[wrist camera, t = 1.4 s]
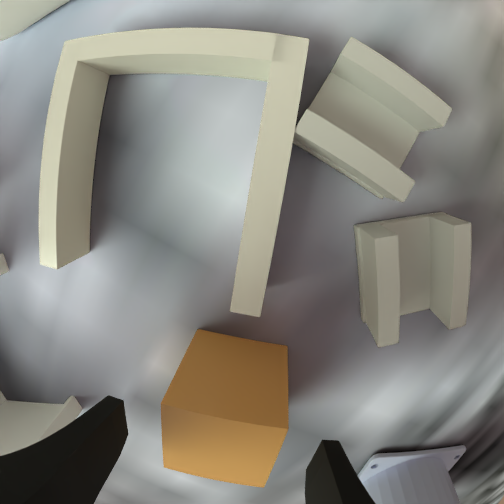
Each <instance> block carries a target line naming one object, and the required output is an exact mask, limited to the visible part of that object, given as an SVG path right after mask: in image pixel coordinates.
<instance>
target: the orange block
mask: <svg viewBox="0 0 504 504" xmlns="http://www.w3.org/2000/svg"><path fill="white" fill-rule="evenodd" d="M161 424H162V446H163V462H164V467H165V468H168V469H172V470H176V471H179V472H183V473H187V474H191V475H196V476H200V477H204V478H209V479H214V480H219V481H224V482H230V483H236V484H242V485H249V486H256V487H264V486H265V484H266V481H267V479H268V477H269V475H270V472H271V470H272V468H273V465H274V463H275V461H276V458H277V456H278V454H279V451H280V449H281V446H282V444H283V441H284V439H285V436H286V434H287V431H288V347H287V346H285V345H279V344H273V343H267V342H261V341H255V340H250V339H245V338H239V337H234V336H229V335H224V334H219V333H215V332H210V331H205V330H201V329H197V331H196V333H195V335H194V337H193V339H192V341H191V343H190V345H189V347H188V349H187V351H186V353H185V355H184V357H183V359H182V361H181V363H180V365H179V367H178V370H177V372H176V374H175V376H174V378H173V380H172V382H171V384H170V386H169V388H168V390H167V392H166V394H165V396H164V398H163V400H162V402H161Z"/></svg>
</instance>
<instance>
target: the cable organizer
mask: <svg viewBox="0 0 504 504" xmlns="http://www.w3.org/2000/svg"><path fill="white" fill-rule="evenodd" d="M69 1H70V0H0V41H2V40H5V39H8V38H10V37H12V36H14V35H16V34H18V33H20V32H22V31H23V30H25V29H26V28H28V27H29V26H30V25H32V24H33V23H35V22H37V21H39V20H40V19H42V18H43V17H45V16H46V15H48V14H49V13H51V12H52V11H54V10H55V9H57V8H59V7H60V6H62V5H64V4H65V3H67V2H69Z"/></svg>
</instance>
